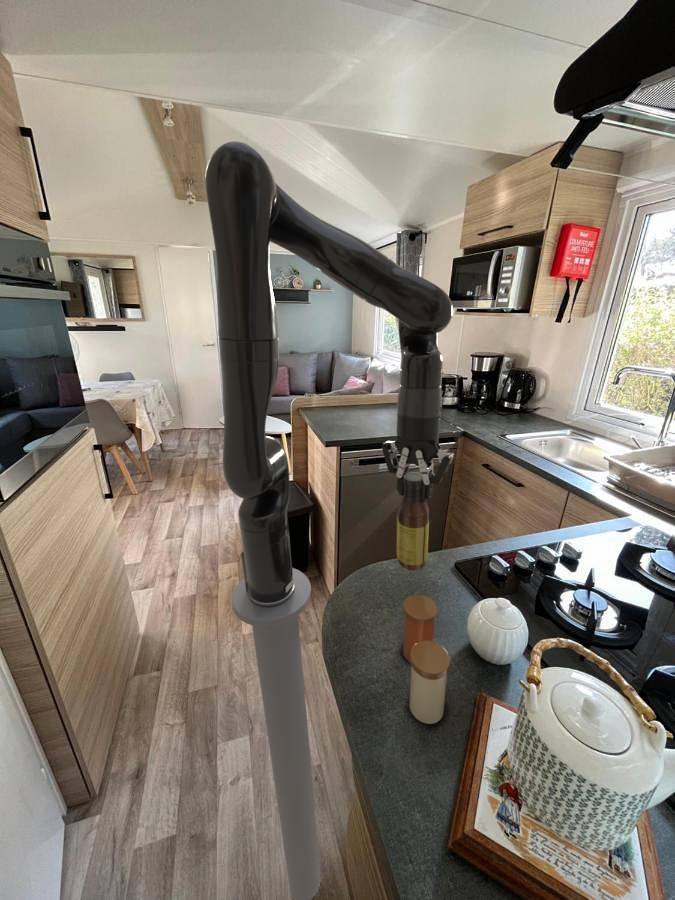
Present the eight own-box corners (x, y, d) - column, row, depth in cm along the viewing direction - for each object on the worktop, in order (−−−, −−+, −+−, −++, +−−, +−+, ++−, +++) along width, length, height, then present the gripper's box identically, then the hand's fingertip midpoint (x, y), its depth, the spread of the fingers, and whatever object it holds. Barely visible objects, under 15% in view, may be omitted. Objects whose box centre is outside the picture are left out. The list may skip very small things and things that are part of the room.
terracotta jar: (396, 656, 65) (397, 610, 61) (410, 635, 69) (412, 590, 66) (426, 672, 62) (429, 624, 58) (438, 649, 66) (442, 603, 63)
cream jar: (401, 711, 56) (403, 660, 53) (417, 683, 60) (420, 634, 57) (436, 733, 53) (441, 680, 50) (450, 702, 57) (455, 651, 54)
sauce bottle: (412, 549, 82) (416, 465, 75) (433, 564, 78) (440, 476, 70) (388, 560, 79) (391, 473, 72) (409, 577, 74) (414, 485, 67)
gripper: (373, 409, 68) (372, 495, 74) (450, 421, 60) (442, 516, 66) (392, 401, 74) (390, 481, 80) (466, 411, 66) (457, 498, 72)
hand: (414, 496), depth 73 cm, fingers closed on sauce bottle, 4 cm apart
